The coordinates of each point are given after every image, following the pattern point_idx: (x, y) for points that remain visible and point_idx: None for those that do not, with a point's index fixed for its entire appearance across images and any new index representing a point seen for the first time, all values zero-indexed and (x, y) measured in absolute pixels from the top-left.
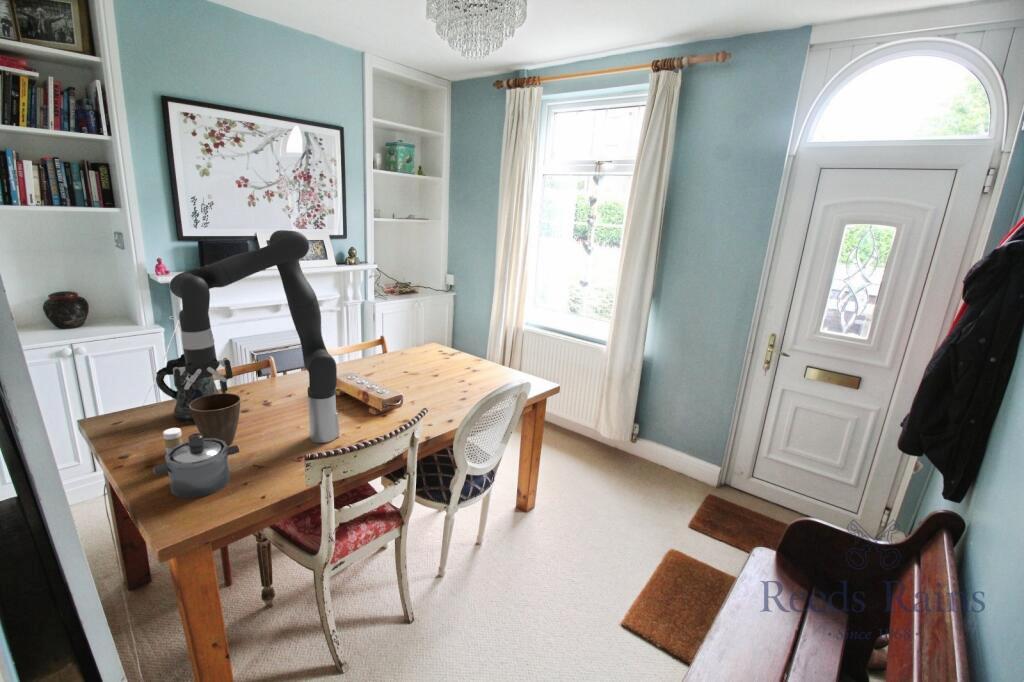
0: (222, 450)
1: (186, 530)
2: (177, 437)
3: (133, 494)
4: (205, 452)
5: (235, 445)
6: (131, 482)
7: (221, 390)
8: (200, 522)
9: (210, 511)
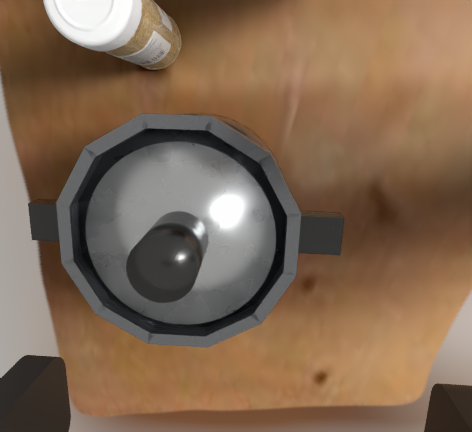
0: (265, 304)
1: (129, 392)
2: (118, 46)
3: (23, 135)
4: (205, 270)
5: (338, 218)
6: (17, 45)
7: (443, 414)
8: (161, 383)
9: (191, 355)
